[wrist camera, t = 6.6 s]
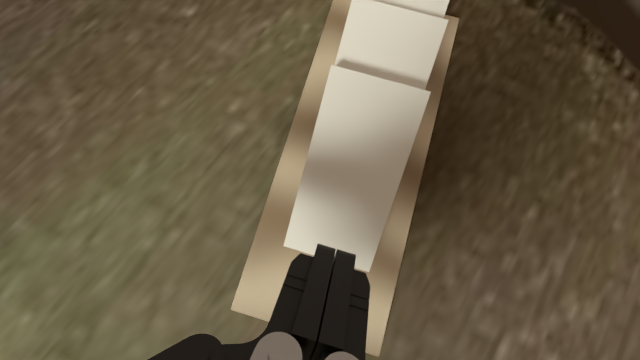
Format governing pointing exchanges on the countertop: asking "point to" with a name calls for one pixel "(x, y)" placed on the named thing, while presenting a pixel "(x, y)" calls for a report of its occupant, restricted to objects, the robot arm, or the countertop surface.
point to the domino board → (267, 248)
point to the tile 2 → (390, 42)
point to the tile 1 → (354, 163)
